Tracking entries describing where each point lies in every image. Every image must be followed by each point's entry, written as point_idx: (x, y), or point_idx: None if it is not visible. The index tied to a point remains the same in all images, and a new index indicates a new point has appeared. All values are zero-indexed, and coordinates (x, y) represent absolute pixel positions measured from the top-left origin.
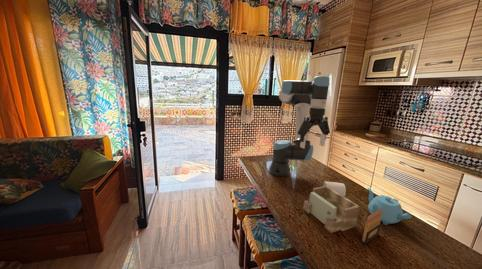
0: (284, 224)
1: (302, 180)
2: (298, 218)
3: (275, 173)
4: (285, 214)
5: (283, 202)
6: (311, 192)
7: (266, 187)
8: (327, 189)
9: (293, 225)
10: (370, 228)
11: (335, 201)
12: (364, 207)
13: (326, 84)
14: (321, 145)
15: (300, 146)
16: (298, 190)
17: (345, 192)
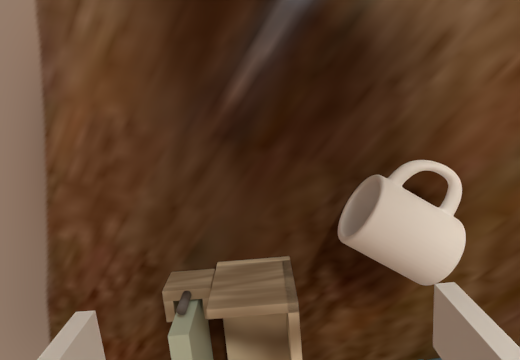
0: (52, 328)
1: (342, 27)
2: (120, 314)
3: None
4: (80, 283)
5: (108, 210)
6: (172, 337)
7: (74, 57)
8: (288, 320)
9: None
10: None
11: (289, 347)
12: None
13: None
14: (436, 321)
15: (72, 323)
16: (242, 132)
17: (418, 283)
